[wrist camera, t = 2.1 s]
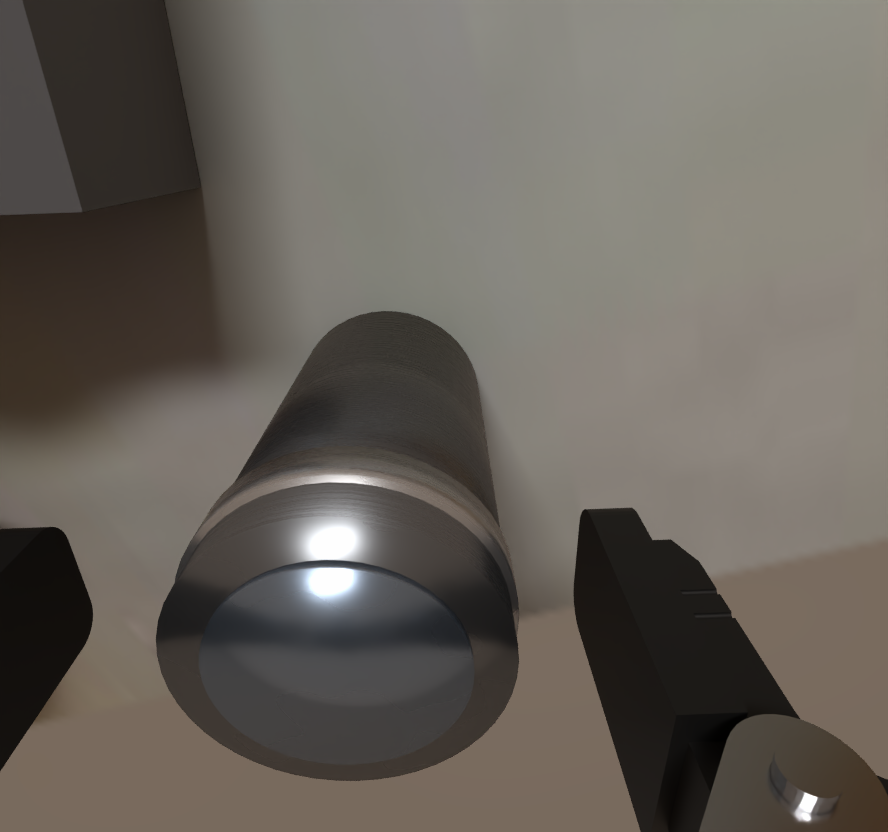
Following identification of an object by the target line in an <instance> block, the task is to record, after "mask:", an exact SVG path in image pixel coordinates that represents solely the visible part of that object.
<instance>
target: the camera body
mask: <svg viewBox="0 0 888 832" xmlns="http://www.w3.org/2000/svg"><path fill="white" fill-rule="evenodd" d="M200 187H201V185H200V180H199V175H198V170H197V165H196V160H195V155H194V150H193V145H192V140H191V135H190V130H189V125H188V120H187V115H186V110H185V105H184V100H183V95H182V90H181V85H180V80H179V75H178V70H177V65H176V60H175V55H174V50H173V45H172V40H171V35H170V30H169V24H168V19H167V14H166V9H165V4H164V0H0V215H19V214H45V213H72V212H85V211H90V210H95V209H100V208H104V207H109V206H114V205H119V204H123V203H128V202H133V201H138V200H143V199H147V198H152V197H157V196H162V195H166V194H171V193H176V192H181V191H185V190H190V189H195V188H200Z"/></svg>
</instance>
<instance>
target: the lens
mask: <svg viewBox="0 0 888 832" xmlns="http://www.w3.org/2000/svg"><path fill="white" fill-rule="evenodd" d="M518 621H519V609H518V597H517V591H516V585H515V579H514V574H513V568H512V562H511V558H510V554H509V549H508V546H507V543H506V541H505V538H504V536H503V534H502V531H501V529H500V526H499V519H498V513H497V506H496V500H495V493H494V487H493V481H492V474H491V468H490V461H489V455H488V448H487V442H486V435H485V429H484V422H483V416H482V409H481V403H480V396H479V390H478V383H477V379H476V375H475V371H474V369H473V366H472V364H471V362H470V360H469V358H468V356H467V354H466V353H465V351H464V350H463V349H462V347H461V346H460V345H459V343H458V342H457V341H456V340H455V339H454V338H453V337H452V336H451V335H450V334H448V333H447V332H446V331H445V330H443V329H442V328H441V327H439V326H437V325H436V324H434V323H432V322H430V321H428V320H426V319H423V318H421V317H418V316H415V315H411V314H408V313H402V312H392V311H381V312H371V313H367V314H363V315H359V316H356V317H354V318H351V319H348V320H346V321H345V322H343V323H341V324H339V325H337V326H336V327H335V328H333V329H332V330H331V331H329V332H328V333H327V334H326V335H325V336H324V337H323V338H322V339H321V340H320V341H319V343H318V344H317V345H316V347H315V348H314V349H313V351H312V353H311V354H310V356H309V358H308V359H307V361H306V363H305V365H304V366H303V368H302V370H301V371H300V373H299V375H298V376H297V378H296V380H295V381H294V383H293V385H292V386H291V388H290V390H289V391H288V393H287V395H286V397H285V398H284V400H283V402H282V403H281V405H280V407H279V408H278V410H277V412H276V413H275V415H274V417H273V418H272V420H271V422H270V424H269V425H268V427H267V429H266V430H265V432H264V434H263V435H262V437H261V439H260V440H259V442H258V444H257V445H256V447H255V449H254V450H253V452H252V454H251V456H250V457H249V459H248V461H247V462H246V464H245V466H244V467H243V469H242V471H241V472H240V474H239V476H238V477H237V479H236V481H235V482H234V483H233V484H232V485H231V486H230V487H229V488H228V489H227V490H226V491H225V492H224V493H223V494H222V495H221V496H220V498H219V499H218V500H217V501H216V503H215V504H214V505H213V507H212V508H211V509H210V511H209V513H208V514H207V516H206V517H205V519H204V521H203V522H202V524H201V526H200V527H199V529H198V530H197V532H196V534H195V535H194V537H193V539H192V540H191V542H190V544H189V545H188V547H187V549H186V551H185V553H184V555H183V557H182V559H181V561H180V564H179V568H178V571H177V574H176V578H175V584H174V585H173V587H172V589H171V591H170V593H169V594H168V596H167V598H166V600H165V602H164V604H163V607H162V610H161V613H160V616H159V620H158V626H157V634H156V645H157V657H158V661H159V665H160V669H161V673H162V675H163V677H164V680H165V682H166V684H167V687H168V689H169V691H170V692H171V694H172V695H173V697H174V699H175V700H176V702H177V703H178V705H179V706H180V707H181V708H182V710H183V711H184V712H185V713H186V714H187V716H188V717H189V718H190V719H191V720H192V721H193V722H195V724H196V725H197V726H199V727H200V728H201V729H202V730H203V731H204V732H205V733H206V734H208V735H209V736H211V737H212V738H213V739H215V740H216V741H217V742H219V743H220V744H222V745H223V746H225V747H227V748H229V749H230V750H232V751H233V752H235V753H237V754H239V755H241V756H243V757H245V758H247V759H250V760H252V761H254V762H256V763H259V764H262V765H264V766H267V767H270V768H273V769H275V770H280V771H283V772H287V773H290V774H294V775H299V776H305V777H310V778H316V779H327V780H341V781H342V780H343V781H344V780H346V781H360V780H374V779H382V778H389V777H395V776H400V775H404V774H408V773H412V772H416V771H419V770H422V769H424V768H428V767H430V766H433V765H436V764H438V763H440V762H442V761H444V760H446V759H448V758H451V757H453V756H454V755H456V754H458V753H459V752H461V751H462V750H464V749H465V748H467V747H469V746H470V745H471V744H472V743H474V742H475V741H476V740H477V739H479V738H480V737H481V736H482V735H483V734H484V733H485V732H486V731H487V730H488V729H489V728H490V727H491V726H492V725H493V724H494V723H495V721H496V720H497V719H498V717H499V716H500V715H501V713H502V712H503V710H504V709H505V707H506V705H507V703H508V701H509V699H510V697H511V695H512V692H513V689H514V686H515V682H516V679H517V673H518V664H519V656H518V643H517V637H516V636H517V630H518Z"/></svg>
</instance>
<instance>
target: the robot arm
mask: <svg viewBox="0 0 888 832" xmlns="http://www.w3.org/2000/svg"><path fill="white" fill-rule="evenodd" d="M574 607H575V615H576V620H577V625H578V628H579V632H580V635H581V639H582V642H583V645H584V648H585V652H586V655H587V658H588V661H589V665H590V668H591V671H592V674H593V678H594V681H595V684H596V687H597V691H598V694H599V697H600V700H601V704H602V707H603V710H604V713H605V717H606V720H607V723H608V726H609V730H610V733H611V736H612V739H613V742H614V745H615V749H616V752H617V756H618V759H619V762H620V765H621V768H622V772H623V775H624V778H625V782H626V785H627V788H628V791H629V795H630V798H631V801H632V804H633V808H634V811H635V814H636V817H637V821H638V824H639V827H640V830H641V832H888V780H887V779H884V778H882V777H879V776H877V775H876V774H875V773H874V772H873V771H872V769H871V768H870V767H869V766H868V765H867V763H866V762H865V761H864V760H863V759H862V758H861V757H860V756H859V755H858V754H857V753H856V752H855V751H854V750H853V749H851V748H850V747H849V746H848V745H846V744H845V743H844V742H842V741H841V740H840V739H838V738H837V737H835V736H834V735H832V734H830V733H829V732H827V731H825V730H823V729H821V728H820V727H818V726H816V725H814V724H811V723H809V722H806V721H804V720H801V719H800V718H799V716H798V715H797V714H796V712H795V711H794V709H793V708H792V706H791V705H790V703H789V702H788V700H787V698H786V697H785V695H784V694H783V692H782V690H781V689H780V687H779V686H778V684H777V683H776V681H775V680H774V678H773V676H772V675H771V673H770V672H769V670H768V669H767V667H766V665H765V664H764V662H763V661H762V659H761V658H760V656H759V654H758V653H757V651H756V650H755V648H754V647H753V645H752V644H751V642H750V640H749V639H748V637H747V636H746V634H745V633H744V631H743V630H742V628H741V627H740V625H739V623H738V622H737V620H736V619H735V618H732V616H731V611H730V609H729V608H728V606H727V605H726V603H725V601H724V600H723V598H722V597H721V595H720V594H717V591H716V587H715V586H714V584H713V582H712V581H711V579H710V578H709V576H708V575H707V573H706V572H705V570H704V568H703V567H702V565H701V564H700V562H699V561H698V560H696V559H695V558H694V557H693V556H691V555H690V554H689V553H687V552H686V551H685V550H684V549H682V548H681V547H680V546H679V545H677V544H676V543H675V542H673V541H672V540H652V539H651V537H650V535H649V533H648V531H647V530H646V528H645V526H644V524H643V523H642V521H641V519H640V517H639V515H638V514H637V512H636V511H635V510H634V509H633V508H612V509H584V510H583V511H582V514H581V517H580V524H579V535H578V546H577V556H576V567H575V578H574ZM92 621H93V609H92V603H91V600H90V597H89V595H88V592H87V589H86V587H85V584H84V581H83V579H82V576H81V573H80V571H79V568H78V565H77V562H76V560H75V557H74V554H73V552H72V549H71V546H70V544H69V541H68V539H67V537H66V535H65V534H64V532H63V531H62V530H60V529H59V528H56V527H40V528H12V529H0V771H1V769H2V768H3V766H4V765H5V763H6V762H7V760H8V759H9V757H10V756H11V754H12V753H13V751H14V750H15V748H16V747H17V745H18V744H19V742H20V741H21V739H22V738H23V736H24V735H25V734H26V732H27V730H28V729H29V728H30V726H31V725H32V723H33V722H34V720H35V719H36V717H37V716H38V714H39V713H40V711H41V710H42V708H43V707H44V705H45V704H46V702H47V701H48V699H49V698H50V696H51V695H52V693H53V692H54V690H55V689H56V687H57V686H58V684H59V683H60V681H61V680H62V678H63V677H64V675H65V674H66V672H67V671H68V669H69V668H70V666H71V665H72V663H73V662H74V660H75V659H76V657H77V656H78V654H79V653H80V651H81V650H82V649H83V647H84V645H85V644H86V642H87V639H88V637H89V634H90V631H91V627H92Z"/></svg>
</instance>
